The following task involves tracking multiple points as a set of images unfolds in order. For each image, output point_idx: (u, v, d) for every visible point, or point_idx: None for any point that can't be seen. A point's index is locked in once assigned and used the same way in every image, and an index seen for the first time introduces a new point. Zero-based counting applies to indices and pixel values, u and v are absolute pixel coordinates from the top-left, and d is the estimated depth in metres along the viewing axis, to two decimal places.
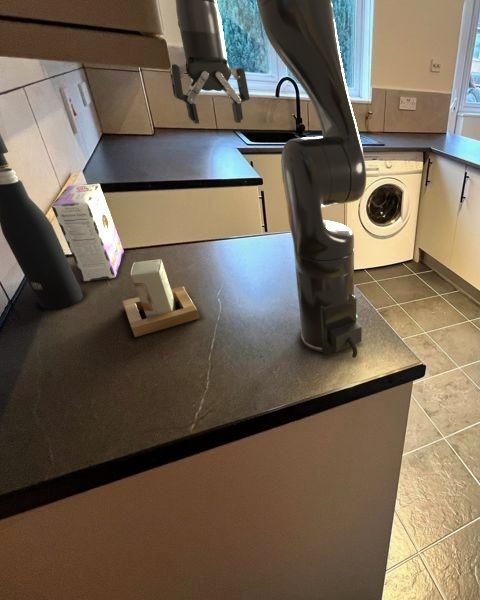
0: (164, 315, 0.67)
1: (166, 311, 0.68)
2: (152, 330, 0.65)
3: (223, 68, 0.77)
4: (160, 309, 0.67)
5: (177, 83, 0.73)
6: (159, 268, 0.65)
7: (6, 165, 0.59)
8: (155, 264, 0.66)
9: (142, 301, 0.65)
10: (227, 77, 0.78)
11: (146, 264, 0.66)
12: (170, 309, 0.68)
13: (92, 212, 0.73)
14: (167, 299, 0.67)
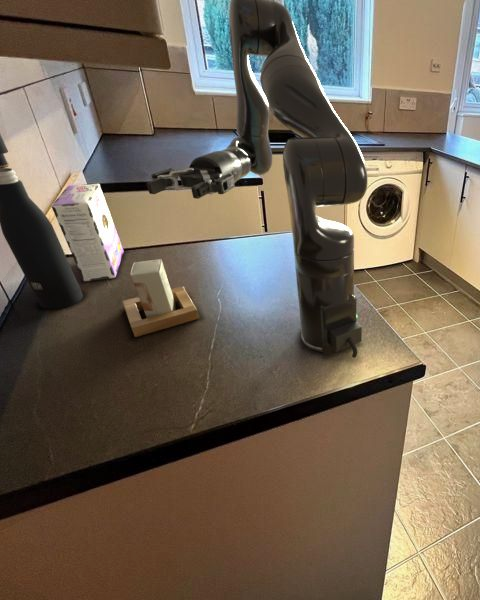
0: (164, 315, 0.67)
1: (166, 311, 0.68)
2: (152, 330, 0.65)
3: (213, 173, 0.77)
4: (160, 309, 0.67)
5: (161, 171, 0.75)
6: (159, 268, 0.65)
7: (6, 165, 0.59)
8: (155, 264, 0.66)
9: (142, 301, 0.65)
10: (212, 175, 0.76)
11: (146, 264, 0.65)
12: (170, 309, 0.68)
13: (92, 212, 0.73)
14: (167, 299, 0.67)
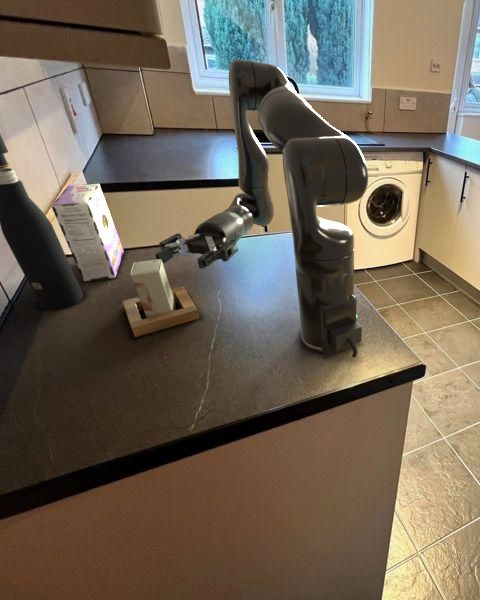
0: (164, 315, 0.67)
1: (166, 311, 0.68)
2: (152, 330, 0.65)
3: (218, 238, 0.81)
4: (160, 309, 0.67)
5: (169, 238, 0.79)
6: (159, 268, 0.65)
7: (6, 165, 0.59)
8: (155, 264, 0.66)
9: (142, 301, 0.65)
10: (216, 241, 0.80)
11: (146, 264, 0.65)
12: (170, 309, 0.68)
13: (92, 212, 0.73)
14: (167, 299, 0.67)
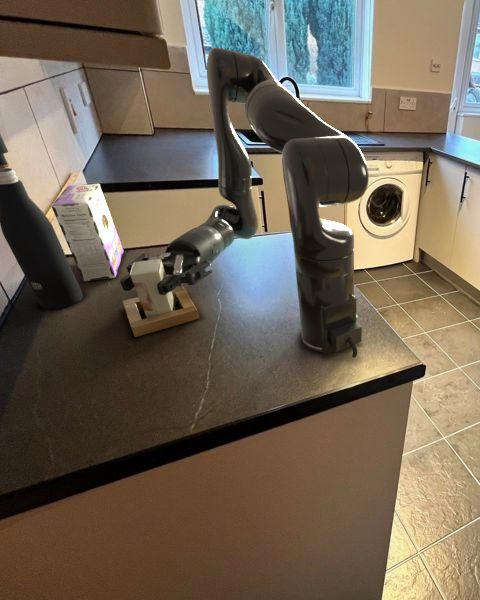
0: (164, 315, 0.67)
1: (166, 311, 0.68)
2: (152, 330, 0.65)
3: (192, 257, 0.73)
4: (160, 309, 0.67)
5: (136, 260, 0.70)
6: (159, 268, 0.65)
7: (6, 165, 0.59)
8: (155, 264, 0.66)
9: (142, 301, 0.65)
10: (189, 261, 0.71)
11: (145, 264, 0.65)
12: (170, 309, 0.68)
13: (92, 212, 0.73)
14: (167, 299, 0.67)
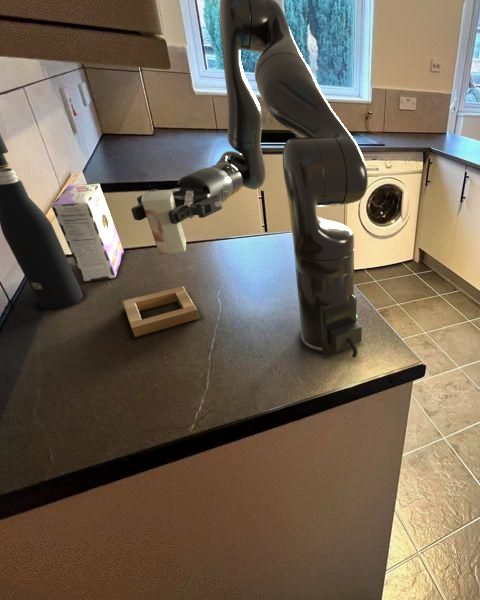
0: (164, 315, 0.67)
1: (177, 243, 0.67)
2: (152, 330, 0.65)
3: (202, 193, 0.72)
4: (171, 240, 0.67)
5: None
6: (170, 197, 0.64)
7: (6, 165, 0.59)
8: (165, 193, 0.65)
9: (153, 231, 0.65)
10: (199, 196, 0.71)
11: (156, 193, 0.65)
12: (181, 241, 0.68)
13: (92, 212, 0.73)
14: (178, 230, 0.66)
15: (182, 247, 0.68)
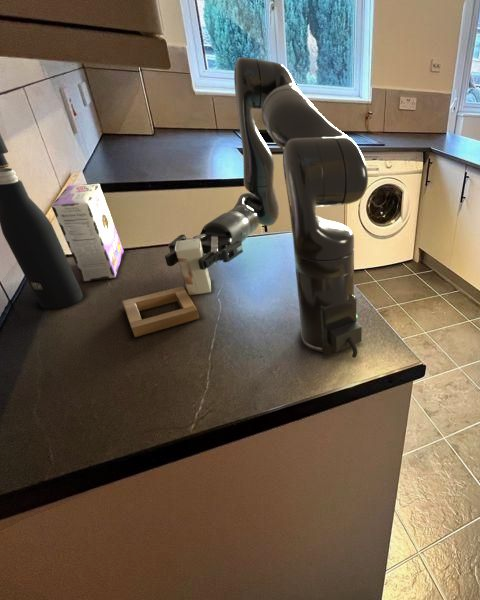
0: (164, 315, 0.67)
1: (204, 285, 0.76)
2: (152, 330, 0.65)
3: (225, 238, 0.81)
4: (199, 282, 0.76)
5: (176, 240, 0.79)
6: (199, 246, 0.73)
7: (6, 165, 0.59)
8: (195, 242, 0.74)
9: (184, 275, 0.74)
10: (223, 241, 0.80)
11: (187, 242, 0.74)
12: (207, 283, 0.76)
13: (92, 212, 0.73)
14: (205, 274, 0.75)
15: (208, 288, 0.77)
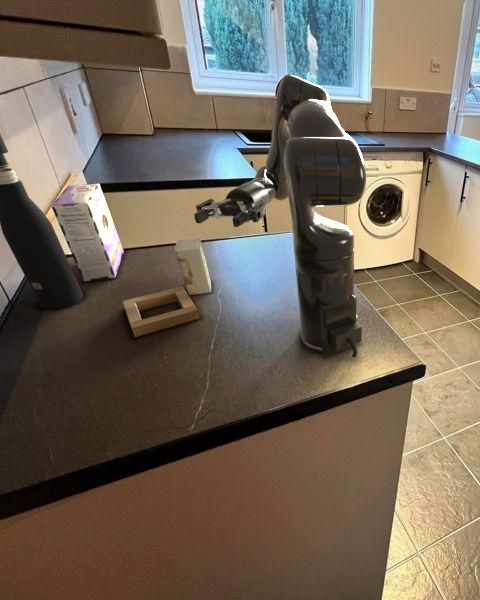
0: (164, 315, 0.67)
1: (204, 285, 0.76)
2: (152, 330, 0.65)
3: (247, 203, 0.90)
4: (199, 282, 0.76)
5: (204, 202, 0.88)
6: (199, 246, 0.73)
7: (6, 165, 0.59)
8: (195, 242, 0.74)
9: (184, 275, 0.74)
10: (246, 205, 0.89)
11: (187, 242, 0.74)
12: (207, 283, 0.76)
13: (92, 212, 0.73)
14: (205, 274, 0.75)
15: (208, 288, 0.77)
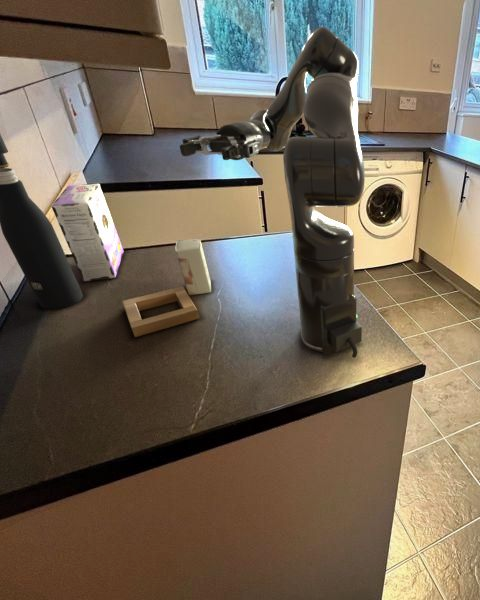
0: (164, 315, 0.67)
1: (204, 285, 0.76)
2: (152, 330, 0.65)
3: (239, 140, 0.83)
4: (199, 282, 0.76)
5: (191, 137, 0.81)
6: (199, 246, 0.73)
7: (6, 165, 0.59)
8: (195, 242, 0.74)
9: (184, 275, 0.74)
10: (238, 141, 0.81)
11: (187, 242, 0.74)
12: (207, 283, 0.76)
13: (92, 212, 0.73)
14: (205, 274, 0.75)
15: (208, 288, 0.77)
